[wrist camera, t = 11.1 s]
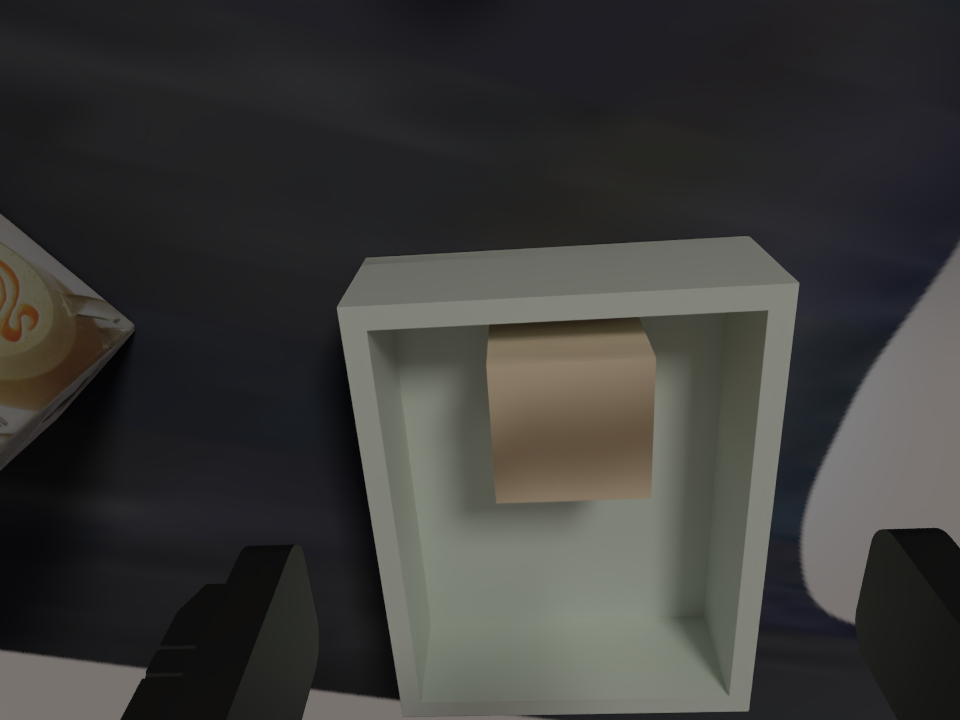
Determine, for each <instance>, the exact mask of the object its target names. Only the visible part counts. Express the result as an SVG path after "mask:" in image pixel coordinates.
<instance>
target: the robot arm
mask: <svg viewBox="0 0 960 720" xmlns="http://www.w3.org/2000/svg"><path fill="white" fill-rule="evenodd" d="M855 623H856V634H857V639H858V643H859V647H860V650H861V653H862V655H863V658H864V660H865V662H866V664H867V665H868V667H869V669H870V671H871V673H872V674H873V676H874V678H875V680H876V682H877V683H878V685H879V687H880V689H881V691H882V692H883V694H884V696H885V698H886V700H887V702H888V703H889V705H890V707H891V709H892V711H893V712H894V714H895V716H896V718H897V720H960V548H959V547H958V546H957V544H956V543H955V542H954V541H953V539H952V538H951V537H950V536H949V535H948V534H947V533H946V532H945V531H943V530H941V529H939V528H916V529H882V530H879V531H877V532H876V533H875V535H874V536H873V538H872V542H871V546H870V550H869V555H868V560H867V564H866V568H865V573H864V577H863V582H862V587H861V591H860V596H859V600H858V605H857V609H856V618H855ZM318 649H319V629H318V622H317V616H316V612H315V607H314V602H313V597H312V592H311V587H310V582H309V577H308V572H307V567H306V563H305V558H304V554H303V551H302V549H301V547H300V546H299V545H297V544H296V545H261V546H246V547H245V548H243V550H242V551H241V553H240V554H239V556H238V559H237V561H236V563H235V565H234V567H233V569H232V571H231V573H230V576H229V578H228V580H227V582H226V584H206V585H205V586H204V587H203V588H202V589H201V590H200V591H199V592H198V593H197V594H196V595H195V596H194V597H192V598H191V599H190V600H189V601H188V602H187V603H186V604H185V605H184V606H183V607H182V608H181V609H180V610H179V611H178V612H177V614H176V615H175V617H174V619H173V621H172V623H171V625H170V627H169V629H168V631H167V632H166V634H165V636H164V638H163V640H162V642H161V644H160V651H156V653H155V655H154V657H153V659H152V661H151V663H150V665H149V667H148V668H147V670H146V677H145V679H142V680H141V682H140V684H139V685H138V687H137V689H136V692H135V693H134V695H133V697H132V699H131V701H130V703H129V704H128V706H127V708H126V710H125V712H124V714H123V716H122V718H121V720H302V716H303V713H304V709H305V706H306V702H307V699H308V695H309V691H310V688H311V684H312V681H313V677H314V673H315V669H316V665H317V659H318Z"/></svg>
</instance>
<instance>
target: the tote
mask: <svg viewBox="0 0 960 720" xmlns="http://www.w3.org/2000/svg"><path fill="white" fill-rule="evenodd" d="M798 289H799V282H798V281H796V280H795V279H794V278H793V277H792V276H791V275H790V274H789V273H788V272H787V271H786V270H785V269H784V268H783V267H781V266H780V265H779V264H778V263H777V262H776V261H775V260H774V259H773V258H772V257H771V256H770V255H769V254H768V253H767V252H765V251H764V250H763V249H762V248H761V247H760V246H759V245H758V244H757V243H756V242H755V241H754V240H753V239H752V238H750V237H749V236H740V237H723V238H705V239H688V240H670V241H653V242H635V243H618V244H600V245H583V246H565V247H548V248H530V249H513V250H495V251H477V252H460V253H442V254H425V255H407V256H390V257H372V258H366V259H365V261H364V262H363V264H362V266H361V267H360V269H359V271H358V272H357V274H356V276H355V278H354V279H353V281H352V283H351V284H350V286H349V288H348V289H347V291H346V293H345V294H344V296H343V298H342V300H341V301H340V303H339V305H338V306H337V312H338V318H339V324H340V331H341V337H342V343H343V349H344V355H345V361H346V367H347V374H348V380H349V386H350V392H351V398H352V404H353V411H354V417H355V423H356V429H357V435H358V441H359V448H360V454H361V460H362V466H363V472H364V478H365V485H366V491H367V497H368V503H369V509H370V515H371V522H372V528H373V534H374V540H375V546H376V552H377V559H378V565H379V571H380V577H381V583H382V589H383V595H384V602H385V608H386V614H387V620H388V626H389V632H390V639H391V645H392V651H393V657H394V663H395V669H396V676H397V682H398V688H399V694H400V700H401V706H402V712H403V717H434V716H489V715H491V716H492V715H551V714H610V713H669V712H727V711H749V704H750V696H751V687H752V679H753V670H754V662H755V654H756V645H757V637H758V628H759V620H760V611H761V603H762V594H763V586H764V577H765V569H766V560H767V552H768V543H769V535H770V526H771V518H772V510H773V501H774V493H775V484H776V476H777V467H778V459H779V450H780V442H781V433H782V425H783V416H784V408H785V399H786V391H787V383H788V374H789V366H790V357H791V349H792V340H793V332H794V323H795V315H796V306H797V298H798ZM626 317H639V318H640V321H641V323H642V325H643V328H644V330H645V333H646V335H647V337H648V340H649V342H650V344H651V347H652V349H653V351H654V354H655V356H656V376H655V404H654V432H653V460H652V488H651V498H646V499H616V500H587V501H557V502H527V503H498V504H496V495H495V481H494V467H493V453H492V439H491V425H490V411H489V397H488V383H487V369H486V362H487V347H488V333H489V324H508V323H528V322H547V321H567V320H587V319H606V318H626Z"/></svg>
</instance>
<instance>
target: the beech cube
mask: <svg viewBox="0 0 960 720" xmlns="http://www.w3.org/2000/svg"><path fill="white" fill-rule="evenodd" d="M486 369H487V383H488V397H489V411H490V425H491V439H492V453H493V467H494V481H495V495H496V504H498V503H527V502H557V501H587V500H616V499H646V498H651V488H652V460H653V432H654V404H655V376H656V356H655V354H654V351H653V349H652V347H651V344H650V342H649V340H648V337H647V335H646V333H645V330H644V328H643V325H642V323H641V321H640V318H639V317H626V318H606V319H587V320H567V321H547V322H528V323H508V324H489V333H488V347H487V362H486Z"/></svg>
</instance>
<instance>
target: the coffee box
mask: <svg viewBox="0 0 960 720" xmlns="http://www.w3.org/2000/svg"><path fill="white" fill-rule="evenodd" d="M134 329H135V326H134V324H133V323H132V322H131V321H129V320H128V319H127V318H126V317H125V316H124V315H123V314H121V313H120V312H119V311H118V310H116V309H115V308H114V307H113V306H112V305H110V304H109V303H108V302H107V301H105V300H104V299H103V298H102V297H101V296H99V295H98V294H97V293H96V292H95V291H93V290H92V289H91V288H90V287H88V286H87V285H86V284H85V283H84V282H82V281H81V280H80V279H79V278H78V277H76V276H75V275H74V274H73V273H72V272H70V271H69V270H68V269H67V268H65V267H64V266H63V265H62V264H61V263H59V262H58V261H57V260H56V259H55V258H53V257H52V256H51V255H50V254H49V253H47V252H46V251H45V250H44V249H42V248H41V247H40V246H39V245H38V244H36V243H35V242H34V241H33V240H32V239H30V238H29V237H28V236H27V235H26V234H24V233H23V232H22V231H21V230H20V229H18V228H17V227H16V226H15V225H13V224H12V223H11V222H10V221H9V220H7V219H6V218H5V217H4V216H2V215H1V214H0V471H1V470H2V469H3V468H4V467H5V466H6V465H7V464H8V463H9V462H10V461H11V460H12V459H13V458H14V457H16V456H17V455H18V454H19V453H20V452H21V451H22V450H23V449H24V448H25V447H26V446H28V445H29V444H30V443H31V442H32V441H33V440H34V439H35V438H36V437H37V436H39V435H40V434H41V433H42V432H43V431H44V430H45V429H46V428H47V427H48V426H50V425H51V424H52V423H53V422H54V421H55V420H56V419H57V418H58V417H59V416H60V415H61V414H62V413H63V412H64V411H65V410H66V408H67V407H68V406H69V405H70V404H71V403H72V401H73V400H74V399H75V398H76V397H77V396H78V395H79V393H80V392H81V391H82V390H83V389H84V388H85V387H86V386H87V385H88V383H89V382H90V381H91V380H92V379H93V378H94V377H95V376H96V375H97V373H98V372H99V371H100V370H101V369H102V368H103V367H104V365H105V364H106V363H107V362H108V361H109V360H110V359H111V357H112V356H113V355H114V354H115V353H116V352H117V351H118V349H119V348H120V347H121V346H122V345H123V344H124V342H125V341H126V340H127V339H128V338H129V337H130V336H131V334H132V333H133V332H134Z"/></svg>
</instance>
